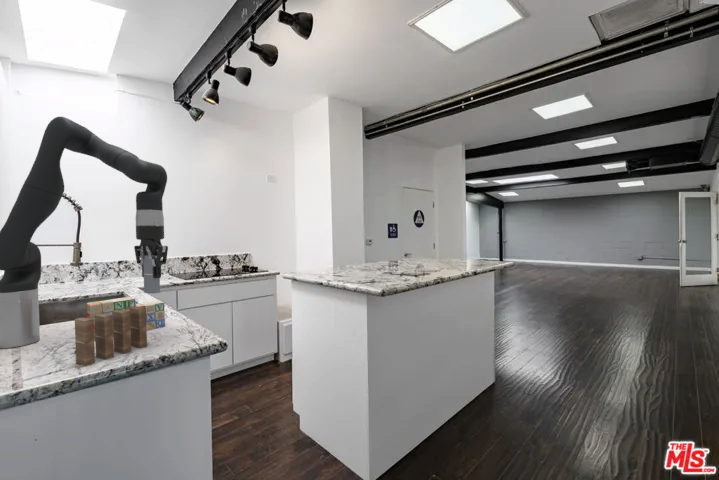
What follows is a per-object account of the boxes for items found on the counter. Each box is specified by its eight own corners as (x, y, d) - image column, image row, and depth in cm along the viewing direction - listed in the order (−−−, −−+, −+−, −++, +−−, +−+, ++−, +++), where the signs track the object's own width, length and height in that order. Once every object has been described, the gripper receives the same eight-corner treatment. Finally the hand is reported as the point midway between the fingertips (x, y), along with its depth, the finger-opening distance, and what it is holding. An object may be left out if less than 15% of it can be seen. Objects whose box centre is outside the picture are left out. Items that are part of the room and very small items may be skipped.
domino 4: (140, 348, 94) (139, 309, 94) (130, 346, 96) (129, 307, 96) (147, 346, 96) (146, 307, 96) (137, 343, 98) (136, 306, 98)
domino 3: (123, 353, 90) (122, 312, 90) (113, 351, 92) (112, 311, 92) (131, 351, 92) (130, 311, 92) (121, 348, 94) (120, 309, 94)
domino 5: (153, 293, 98) (152, 255, 98) (144, 292, 100) (142, 255, 100) (160, 292, 100) (159, 255, 100) (150, 291, 102) (149, 254, 102)
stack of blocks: (159, 323, 121) (159, 292, 120) (165, 326, 117) (164, 294, 116) (87, 338, 105) (86, 302, 104) (90, 342, 100) (89, 304, 100)
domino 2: (105, 359, 86) (104, 316, 86) (95, 356, 88) (94, 315, 88) (114, 356, 88) (112, 315, 88) (104, 354, 90) (102, 313, 90)
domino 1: (85, 366, 82) (84, 321, 82) (76, 362, 84) (74, 319, 84) (95, 363, 84) (93, 319, 84) (85, 360, 86) (83, 317, 86)
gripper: (124, 225, 99) (125, 278, 100) (152, 224, 93) (153, 280, 93) (148, 225, 106) (150, 275, 106) (175, 224, 100) (177, 277, 100)
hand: (151, 277), depth 100 cm, fingers closed on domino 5, 5 cm apart
